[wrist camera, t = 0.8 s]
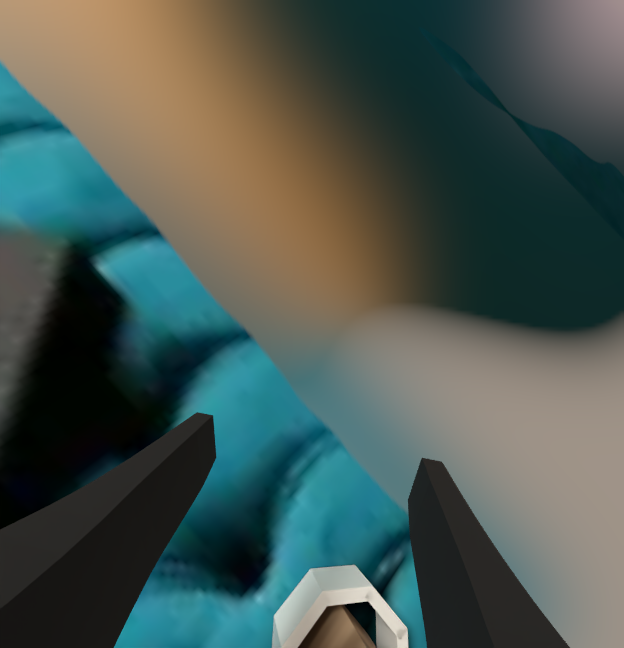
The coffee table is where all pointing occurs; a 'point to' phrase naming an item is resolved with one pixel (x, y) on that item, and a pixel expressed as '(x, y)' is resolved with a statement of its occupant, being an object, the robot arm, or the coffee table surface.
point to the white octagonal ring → (327, 591)
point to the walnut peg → (337, 631)
